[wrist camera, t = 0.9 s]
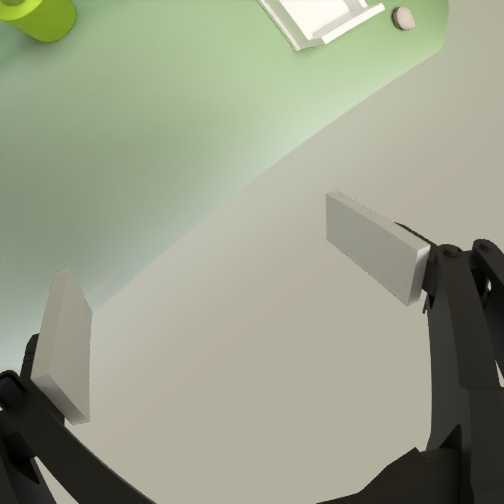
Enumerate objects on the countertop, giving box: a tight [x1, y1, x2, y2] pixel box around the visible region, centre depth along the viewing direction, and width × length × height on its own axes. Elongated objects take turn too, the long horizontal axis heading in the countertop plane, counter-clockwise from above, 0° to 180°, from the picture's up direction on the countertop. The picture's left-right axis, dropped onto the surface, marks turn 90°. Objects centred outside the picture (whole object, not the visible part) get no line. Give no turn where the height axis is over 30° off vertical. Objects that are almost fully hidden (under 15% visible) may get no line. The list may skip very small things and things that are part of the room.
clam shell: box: [393, 7, 416, 30], centre depth 36 cm, size 4×5×2 cm
